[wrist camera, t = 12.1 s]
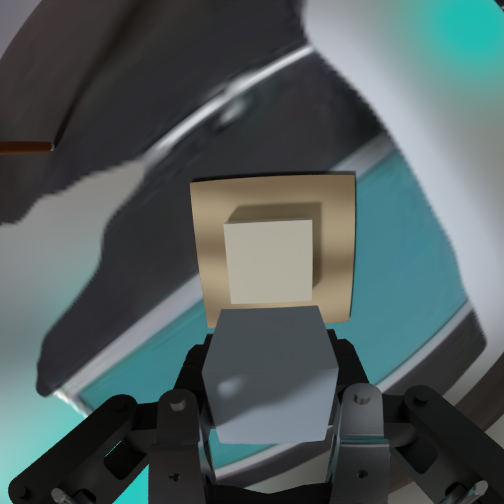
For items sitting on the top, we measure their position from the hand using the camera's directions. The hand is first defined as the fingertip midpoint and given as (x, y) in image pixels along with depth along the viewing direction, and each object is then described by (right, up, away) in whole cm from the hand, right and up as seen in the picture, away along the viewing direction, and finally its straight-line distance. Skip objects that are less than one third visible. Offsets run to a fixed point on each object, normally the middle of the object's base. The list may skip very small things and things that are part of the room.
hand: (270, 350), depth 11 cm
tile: (-3, +3, +12) cm, 13 cm away
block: (0, 0, 0) cm, 0 cm away
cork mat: (+1, +4, +13) cm, 13 cm away
